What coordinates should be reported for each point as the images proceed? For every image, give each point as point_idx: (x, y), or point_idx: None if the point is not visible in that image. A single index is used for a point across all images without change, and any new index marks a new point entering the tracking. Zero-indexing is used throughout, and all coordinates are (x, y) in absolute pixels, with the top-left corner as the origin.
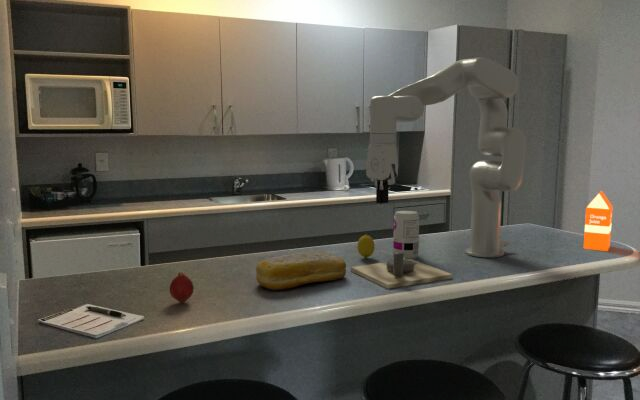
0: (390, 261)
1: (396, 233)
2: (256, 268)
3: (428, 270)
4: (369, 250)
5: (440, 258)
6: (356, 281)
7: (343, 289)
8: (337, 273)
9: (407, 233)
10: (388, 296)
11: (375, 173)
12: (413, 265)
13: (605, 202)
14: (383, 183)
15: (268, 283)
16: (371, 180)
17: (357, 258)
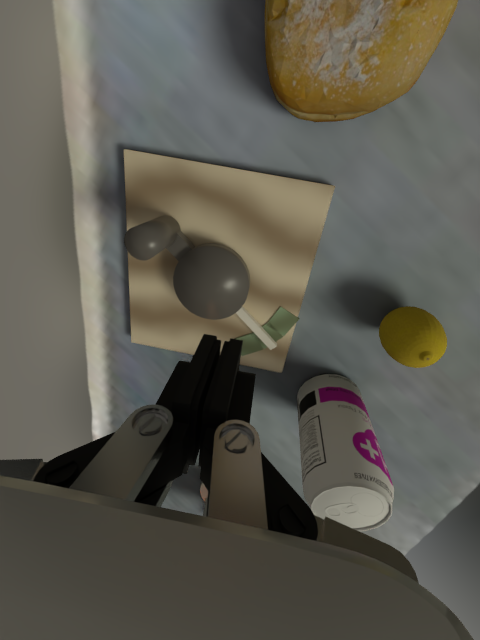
0: (239, 276)
1: (347, 420)
2: None
3: (179, 328)
4: (383, 324)
5: (263, 427)
6: (235, 118)
7: (188, 3)
8: (265, 33)
9: (311, 430)
10: (73, 98)
11: (50, 632)
12: (179, 298)
13: None
14: (93, 470)
15: None
16: (386, 551)
17: (418, 301)
